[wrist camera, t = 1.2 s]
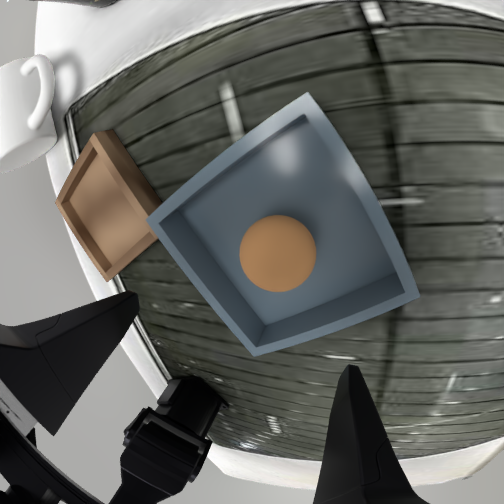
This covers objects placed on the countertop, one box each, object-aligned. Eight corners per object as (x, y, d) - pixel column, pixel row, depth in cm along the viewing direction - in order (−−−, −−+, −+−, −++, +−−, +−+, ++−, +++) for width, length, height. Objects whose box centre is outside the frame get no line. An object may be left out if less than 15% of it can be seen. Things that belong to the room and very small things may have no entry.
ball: (332, 251, 17) (327, 289, 14) (276, 277, 20) (258, 317, 16) (295, 192, 16) (279, 216, 13) (240, 226, 19) (211, 256, 15)
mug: (40, 160, 24) (-14, 181, 17) (26, 93, 20) (-26, 105, 13) (92, 110, 19) (17, 124, 12) (76, 32, 15) (10, 31, 8)
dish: (411, 270, 17) (420, 296, 14) (265, 330, 23) (254, 356, 20) (313, 97, 14) (307, 91, 11) (170, 205, 20) (145, 219, 18)
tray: (177, 223, 21) (161, 234, 19) (120, 271, 26) (106, 282, 24) (112, 129, 19) (93, 132, 17) (70, 195, 24) (55, 202, 22)
